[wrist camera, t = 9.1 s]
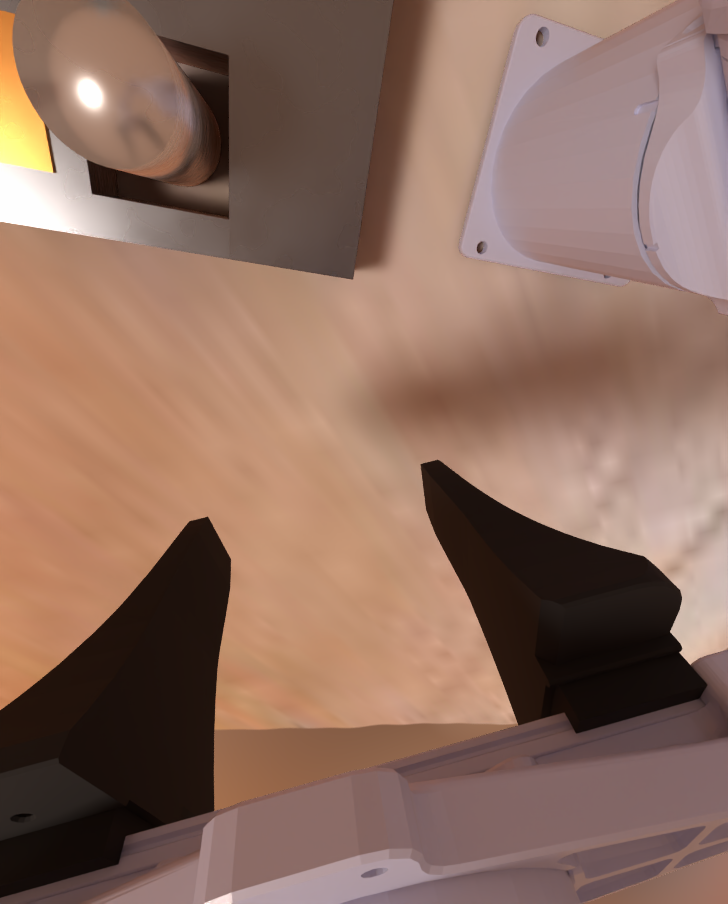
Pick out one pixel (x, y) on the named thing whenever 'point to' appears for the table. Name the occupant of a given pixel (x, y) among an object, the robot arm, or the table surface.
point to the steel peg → (114, 90)
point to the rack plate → (250, 135)
